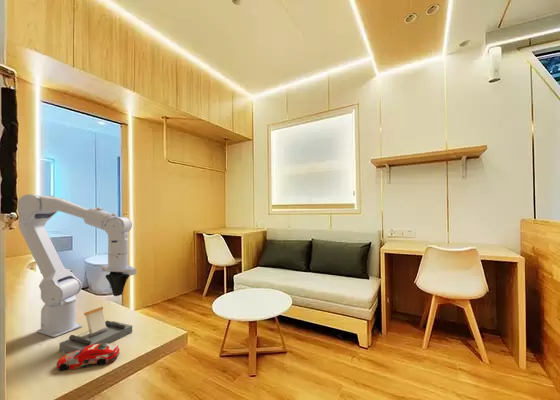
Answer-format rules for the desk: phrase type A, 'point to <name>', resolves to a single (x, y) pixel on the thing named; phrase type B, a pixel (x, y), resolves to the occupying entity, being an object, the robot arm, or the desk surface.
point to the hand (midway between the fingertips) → (117, 295)
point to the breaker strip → (96, 337)
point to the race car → (89, 357)
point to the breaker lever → (95, 321)
